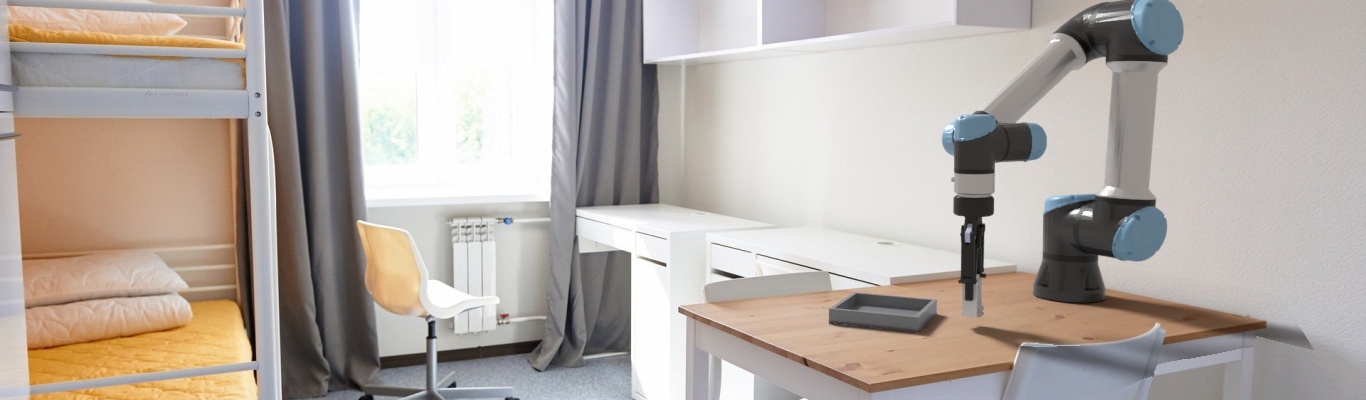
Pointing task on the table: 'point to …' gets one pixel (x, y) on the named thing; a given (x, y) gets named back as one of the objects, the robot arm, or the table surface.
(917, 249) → the table surface
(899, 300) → the tray
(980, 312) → the rook chess piece
